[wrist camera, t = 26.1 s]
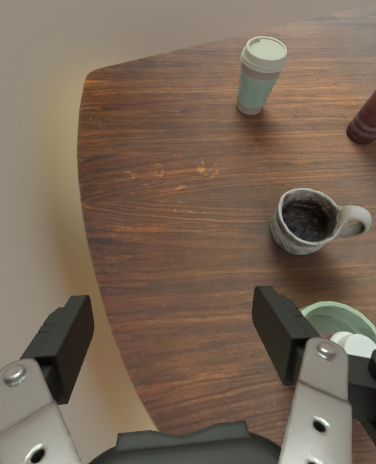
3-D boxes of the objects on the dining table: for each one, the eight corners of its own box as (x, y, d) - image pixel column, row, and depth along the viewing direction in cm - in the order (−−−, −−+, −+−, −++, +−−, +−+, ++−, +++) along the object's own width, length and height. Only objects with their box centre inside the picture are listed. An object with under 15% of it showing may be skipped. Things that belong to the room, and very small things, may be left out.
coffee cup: (249, 88, 58) (266, 29, 47) (275, 109, 56) (300, 51, 45) (222, 102, 56) (233, 43, 45) (248, 125, 53) (267, 68, 42)
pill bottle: (309, 374, 33) (350, 382, 25) (300, 335, 35) (334, 332, 27) (343, 370, 33) (393, 377, 26) (332, 332, 35) (375, 328, 28)
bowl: (376, 399, 33) (409, 407, 28) (287, 408, 32) (306, 418, 27) (345, 304, 38) (368, 298, 33) (267, 309, 37) (280, 304, 32)
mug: (262, 206, 44) (284, 170, 35) (331, 214, 44) (371, 180, 35) (263, 256, 40) (289, 230, 31) (339, 265, 40) (387, 242, 31)
